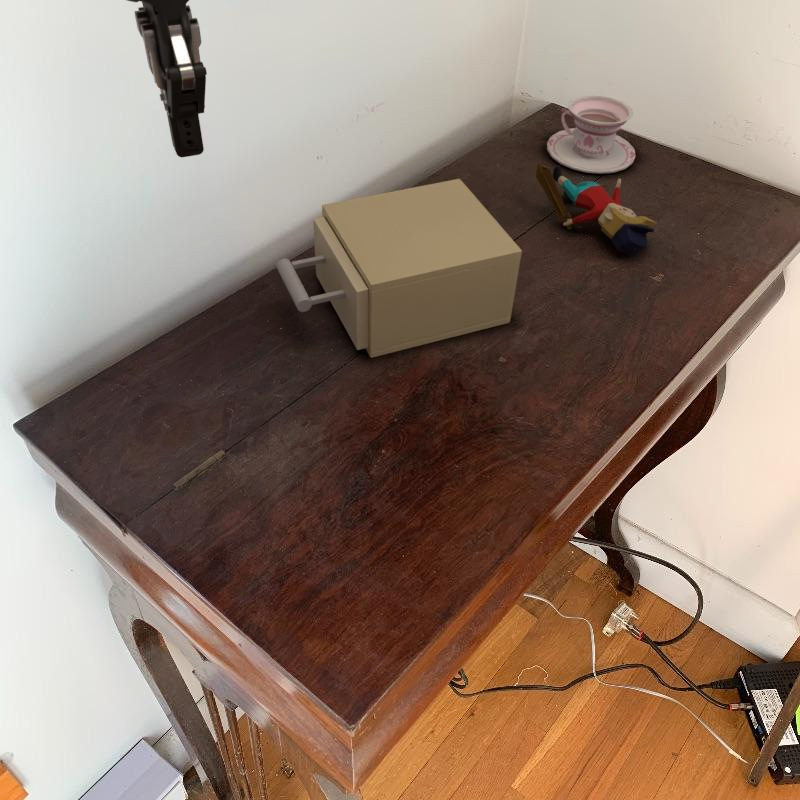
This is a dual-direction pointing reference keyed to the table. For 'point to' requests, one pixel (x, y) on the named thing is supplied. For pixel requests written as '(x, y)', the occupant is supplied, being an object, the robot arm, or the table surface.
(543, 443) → the table surface
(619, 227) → the toy
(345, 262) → the drawer
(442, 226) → the cabinet
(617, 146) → the teacup
